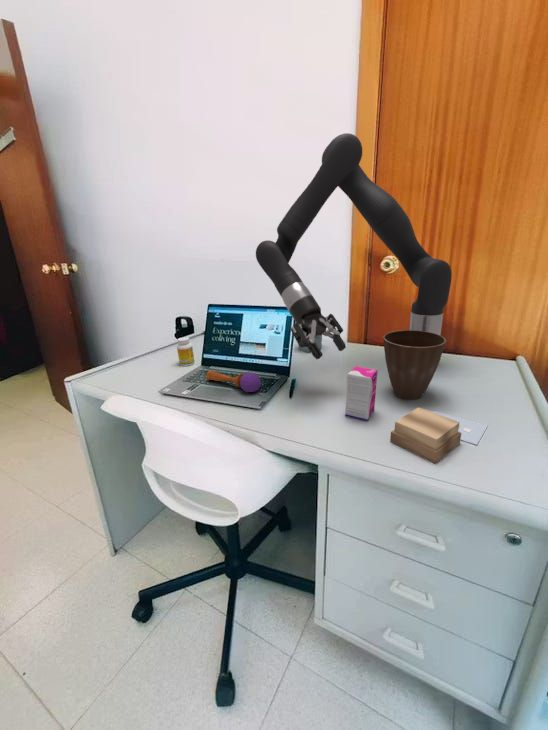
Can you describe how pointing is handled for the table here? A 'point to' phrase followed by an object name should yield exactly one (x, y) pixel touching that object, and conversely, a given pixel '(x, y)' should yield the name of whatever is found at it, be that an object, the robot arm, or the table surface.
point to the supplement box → (361, 393)
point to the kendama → (238, 380)
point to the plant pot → (412, 360)
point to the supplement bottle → (185, 352)
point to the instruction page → (467, 429)
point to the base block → (426, 434)
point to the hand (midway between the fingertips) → (331, 353)
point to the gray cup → (316, 340)
